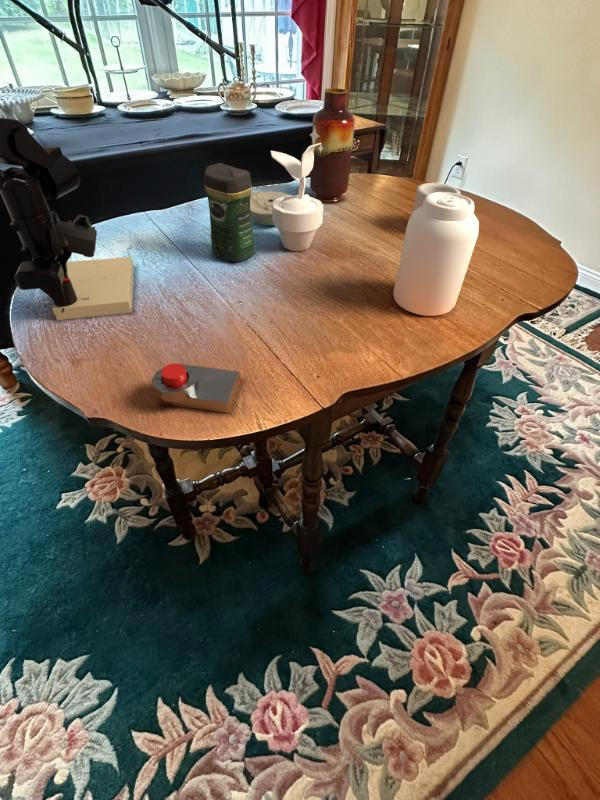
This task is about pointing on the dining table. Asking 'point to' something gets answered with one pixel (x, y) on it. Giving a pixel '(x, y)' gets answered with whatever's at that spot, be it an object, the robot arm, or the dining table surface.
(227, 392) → the block
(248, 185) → the coffee jar
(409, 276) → the white lidded jar
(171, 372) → the button
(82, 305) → the beige knob base panel
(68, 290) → the knob
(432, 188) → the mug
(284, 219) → the potted plant
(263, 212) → the oil lamp
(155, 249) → the dining table surface
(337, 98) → the vase
